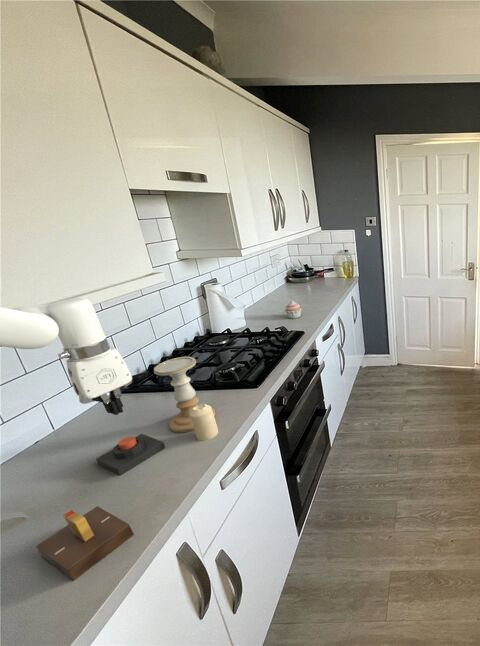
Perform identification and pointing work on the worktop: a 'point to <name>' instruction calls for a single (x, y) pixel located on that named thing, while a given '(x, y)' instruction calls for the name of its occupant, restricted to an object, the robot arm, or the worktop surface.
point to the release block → (130, 455)
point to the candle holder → (180, 391)
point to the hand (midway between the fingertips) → (116, 412)
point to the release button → (127, 443)
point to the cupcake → (293, 310)
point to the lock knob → (78, 525)
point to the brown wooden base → (85, 543)
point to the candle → (203, 422)
